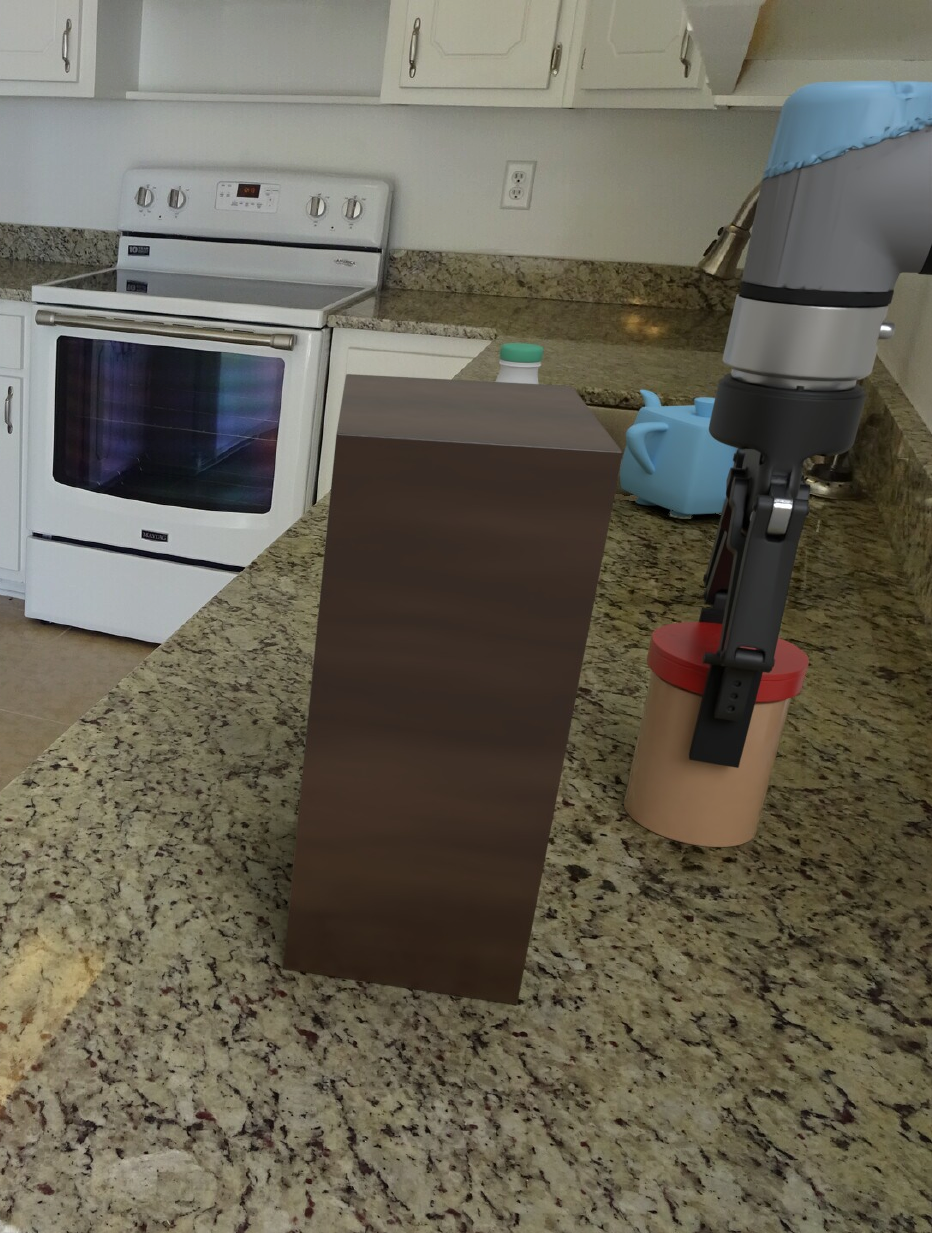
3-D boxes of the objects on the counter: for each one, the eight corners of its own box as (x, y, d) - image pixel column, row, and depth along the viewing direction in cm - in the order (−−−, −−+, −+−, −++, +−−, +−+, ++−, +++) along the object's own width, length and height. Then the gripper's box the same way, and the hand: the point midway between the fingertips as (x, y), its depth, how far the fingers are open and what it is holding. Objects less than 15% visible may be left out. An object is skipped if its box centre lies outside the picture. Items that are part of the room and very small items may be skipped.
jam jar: (751, 801, 85) (792, 644, 80) (761, 858, 78) (805, 690, 73) (624, 777, 88) (656, 625, 83) (622, 830, 81) (657, 668, 76)
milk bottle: (531, 527, 144) (559, 352, 137) (461, 520, 147) (486, 348, 139) (530, 510, 151) (557, 342, 143) (464, 504, 153) (487, 338, 146)
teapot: (776, 507, 154) (803, 398, 149) (745, 536, 142) (772, 418, 137) (623, 482, 164) (643, 379, 159) (582, 507, 153) (602, 397, 148)
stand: (517, 1005, 64) (623, 451, 53) (282, 969, 67) (336, 433, 56) (492, 847, 79) (572, 385, 67) (300, 822, 81) (346, 373, 70)
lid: (644, 638, 84) (650, 613, 83) (792, 659, 81) (799, 633, 80) (647, 687, 76) (653, 660, 76) (811, 712, 73) (818, 684, 73)
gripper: (907, 418, 61) (794, 819, 70) (839, 354, 79) (756, 678, 88) (736, 404, 64) (649, 792, 72) (708, 346, 82) (641, 661, 91)
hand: (708, 729), depth 80 cm, fingers closed on lid, 9 cm apart
